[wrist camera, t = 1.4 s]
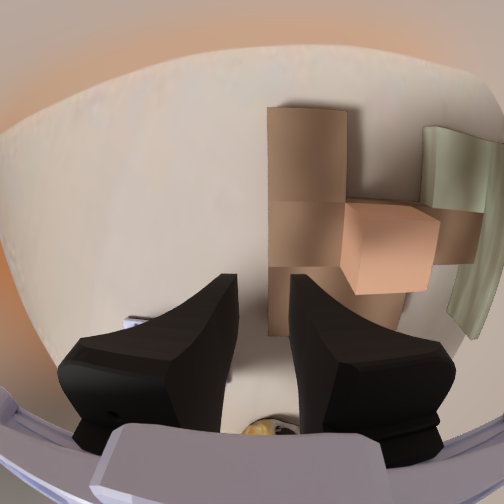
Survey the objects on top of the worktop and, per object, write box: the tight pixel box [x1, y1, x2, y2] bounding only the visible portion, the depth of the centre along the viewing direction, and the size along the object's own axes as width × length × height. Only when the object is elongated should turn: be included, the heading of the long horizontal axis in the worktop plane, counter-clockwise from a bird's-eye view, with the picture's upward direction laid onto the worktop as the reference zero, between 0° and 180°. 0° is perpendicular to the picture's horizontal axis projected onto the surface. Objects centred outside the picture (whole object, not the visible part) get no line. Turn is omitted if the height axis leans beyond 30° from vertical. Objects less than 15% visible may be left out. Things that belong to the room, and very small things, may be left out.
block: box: [340, 203, 440, 295], centre depth 16 cm, size 5×4×4 cm
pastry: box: [241, 419, 300, 435], centre depth 28 cm, size 9×7×4 cm
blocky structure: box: [267, 107, 504, 340], centre depth 17 cm, size 19×16×5 cm
